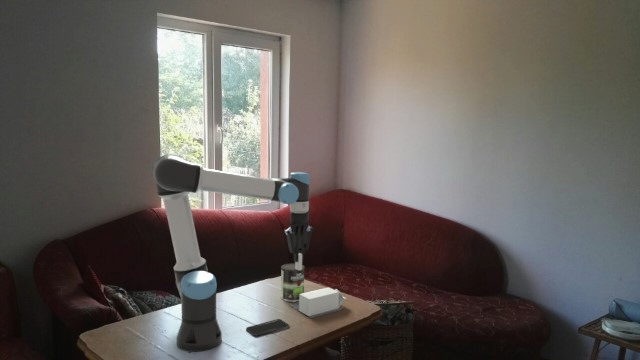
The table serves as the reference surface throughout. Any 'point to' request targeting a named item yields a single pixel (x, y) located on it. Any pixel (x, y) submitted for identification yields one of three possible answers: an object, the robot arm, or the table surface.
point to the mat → (296, 306)
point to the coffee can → (291, 282)
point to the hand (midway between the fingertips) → (298, 269)
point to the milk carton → (320, 301)
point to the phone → (267, 327)
